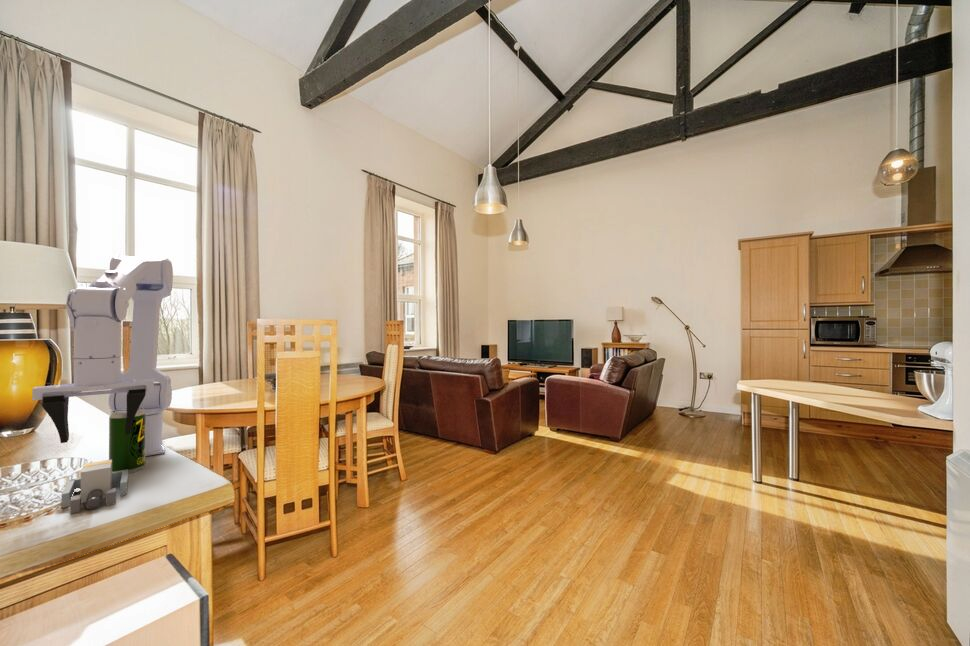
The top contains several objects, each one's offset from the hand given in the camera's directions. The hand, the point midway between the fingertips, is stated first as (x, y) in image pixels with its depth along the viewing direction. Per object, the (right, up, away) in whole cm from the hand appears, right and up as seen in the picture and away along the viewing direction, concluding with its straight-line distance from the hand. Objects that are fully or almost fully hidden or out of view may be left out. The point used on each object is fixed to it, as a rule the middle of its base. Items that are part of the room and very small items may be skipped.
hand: (97, 437), depth 67 cm
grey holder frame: (+1, -10, -1) cm, 10 cm away
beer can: (-5, -10, +11) cm, 16 cm away
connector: (+2, -10, -2) cm, 10 cm away
